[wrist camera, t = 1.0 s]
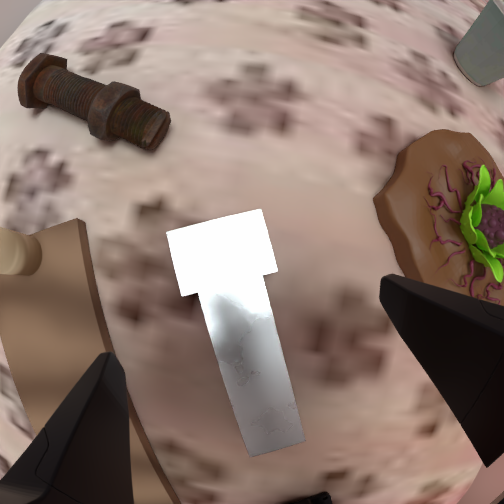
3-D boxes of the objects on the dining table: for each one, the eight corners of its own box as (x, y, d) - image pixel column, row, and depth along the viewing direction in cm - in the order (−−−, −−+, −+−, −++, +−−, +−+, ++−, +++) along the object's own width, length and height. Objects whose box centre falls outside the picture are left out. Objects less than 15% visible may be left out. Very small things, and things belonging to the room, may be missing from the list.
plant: (447, 112, 26) (508, 65, 15) (524, 248, 26) (590, 236, 14) (336, 203, 23) (421, 145, 12) (446, 373, 22) (532, 399, 11)
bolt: (162, 160, 23) (48, 104, 22) (189, 105, 21) (67, 58, 20) (128, 168, 18) (7, 104, 16) (160, 96, 16) (27, 50, 15)
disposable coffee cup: (452, 35, 28) (502, -16, 13) (499, 87, 28) (556, 46, 13) (433, 52, 26) (495, -12, 12) (487, 113, 27) (560, 66, 12)
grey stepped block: (307, 419, 21) (319, 436, 18) (233, 440, 20) (235, 460, 17) (255, 218, 22) (261, 208, 19) (173, 238, 21) (166, 232, 18)
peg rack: (181, 504, 18) (176, 544, 13) (88, 505, 17) (70, 537, 12) (85, 222, 20) (49, 204, 15) (-4, 254, 19) (-44, 247, 13)
